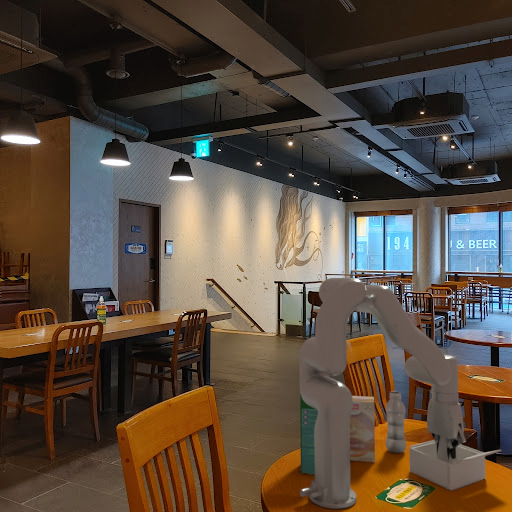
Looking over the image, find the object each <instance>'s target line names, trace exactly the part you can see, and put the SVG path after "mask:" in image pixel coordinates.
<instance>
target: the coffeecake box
mask: <svg viewBox="0 0 512 512" xmlns="http://www.w3.org/2000/svg"><path fill="white" fill-rule="evenodd" d="M352 399H353V405H352V411H351V417H350V461H355V462H365V463H376V438H375V437H376V435H375V433H376V431H375V430H376V426H375V425H376V423H375V422H376V421H375V397H374V396H361V395H359V396H358V395H352Z"/></svg>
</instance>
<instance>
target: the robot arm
mask: <svg viewBox="0 0 512 512" xmlns="http://www.w3.org/2000/svg"><path fill="white" fill-rule="evenodd" d="M318 296H319V298H320V301H321V302H322V304H321V305H320V306H319V309H318V311H317V312H316V313H317V314H316V318H315V326H314V327H315V329H314V331H315V333H314V336H311V337H309V338H307V339H306V340H305V341H304V342H303V344H302V345H301V348H300V350H299V356H298V357H299V358H298V359H299V361H298V362H299V363H298V364H299V367H298V368H299V394H300V393H301V397H302V399H303V400H304V402H305V403H306V404H307V405H309V406H310V407H312V408H314V409H316V410H317V411H318V416H317V420H316V423H315V429H314V442H315V474H314V480H311V485H309V487H305V488H304V487H303V488H300V489H299V494H300V497H302V498H304V497H309V499H310V501H311V502H312V503H314V504H315V505H317V506H319V507H321V508H326V509H332V510H337V509H338V510H339V509H346V508H349V507H352V506H353V505H354V504H356V502H357V494H356V492H355V491H354V490H353V489H352V488H351V460H350V417H351V411H352V405H353V399H352V396H353V395H352V392H351V391H350V389H349V388H348V386H346V385H345V384H344V383H343V382H341V381H339V380H336V379H335V378H331V377H330V376H339V375H341V374H342V373H344V371H345V370H346V367H347V362H348V361H347V360H348V354H347V353H348V352H347V351H348V348H347V347H348V345H347V342H348V341H347V328H348V322H349V319H350V317H351V315H352V313H353V312H358V313H367V314H370V315H372V317H373V318H374V319H375V321H376V323H377V324H378V326H379V327H380V330H382V332H383V333H384V335H385V336H386V339H388V341H390V342H391V343H392V344H394V345H395V346H396V347H398V348H400V349H402V350H403V351H405V352H407V353H408V354H410V355H411V356H410V357H409V358H407V360H406V361H405V363H404V371H405V374H406V375H407V376H408V377H409V378H410V379H412V380H415V381H418V382H421V383H426V384H429V385H431V388H430V389H429V394H431V398H429V402H428V406H427V413H426V414H427V416H426V427H427V428H426V430H427V432H429V434H430V435H431V436H432V438H433V440H434V441H435V443H436V444H437V452H438V446H439V437H440V436H443V437H446V438H448V448H447V455H448V460H449V456H450V454H451V458H452V459H455V458H456V447H458V445H459V444H463V443H466V442H467V440H466V438H465V434H464V430H465V429H464V418H463V416H464V415H463V411H462V406H461V405H462V404H461V403H460V402H459V362H458V359H457V358H456V357H455V356H454V355H449V354H444V352H442V350H441V348H440V347H439V346H438V345H437V344H436V343H435V342H434V341H433V340H432V339H431V338H430V337H428V335H426V334H425V333H424V331H422V330H421V329H420V328H418V327H417V326H416V325H415V324H414V323H413V321H412V320H411V318H410V317H409V315H408V314H407V312H406V310H405V309H404V307H403V306H402V304H401V302H400V301H399V299H398V298H397V296H396V294H395V293H394V291H393V290H392V289H391V288H390V287H388V286H386V285H383V284H382V285H380V284H365V283H364V282H363V281H362V280H360V279H358V278H354V277H330V278H326V279H325V280H324V281H322V283H320V286H319V289H318ZM452 441H453V442H452Z"/></svg>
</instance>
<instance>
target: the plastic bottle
mask: <svg viewBox="0 0 512 512" xmlns="http://www.w3.org/2000/svg"><path fill="white" fill-rule="evenodd" d="M401 395H402V394H401V391H394V390H393V391H392V390H391V391H389V396H388V397H389V400H388V402H387V403H386V405H385V412H386V422H387V433H386V439H385V446H386V450H388V451H389V452H390V453H395V454H402V453H404V452H405V451H406V448H407V443H406V442H407V441H406V438H405V429H404V428H405V416H406V406H405V405H404V403H403V402H402V396H401Z"/></svg>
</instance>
